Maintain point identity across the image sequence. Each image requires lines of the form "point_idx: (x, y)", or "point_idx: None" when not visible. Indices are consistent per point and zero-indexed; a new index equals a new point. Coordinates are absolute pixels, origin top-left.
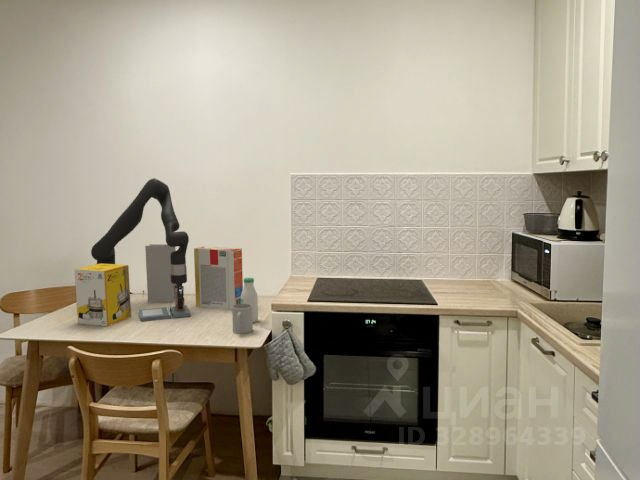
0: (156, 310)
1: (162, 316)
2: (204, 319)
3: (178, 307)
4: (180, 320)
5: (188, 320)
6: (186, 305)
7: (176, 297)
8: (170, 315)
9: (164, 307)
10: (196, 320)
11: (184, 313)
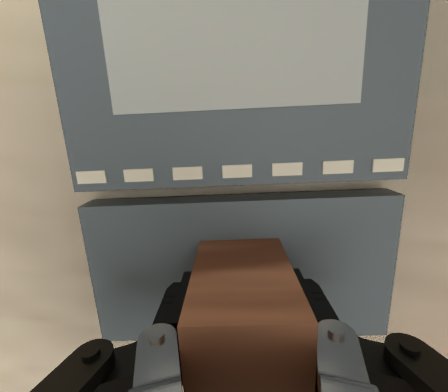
0: (297, 43)
1: (63, 105)
2: (22, 386)
3: (183, 280)
4: (21, 245)
5: (12, 297)
6: (376, 334)
7: (286, 344)
8: (74, 182)
9: (402, 138)
10: (5, 342)
11: (100, 298)
